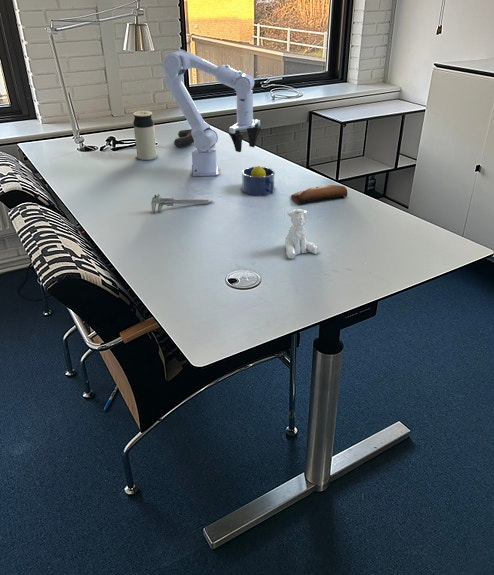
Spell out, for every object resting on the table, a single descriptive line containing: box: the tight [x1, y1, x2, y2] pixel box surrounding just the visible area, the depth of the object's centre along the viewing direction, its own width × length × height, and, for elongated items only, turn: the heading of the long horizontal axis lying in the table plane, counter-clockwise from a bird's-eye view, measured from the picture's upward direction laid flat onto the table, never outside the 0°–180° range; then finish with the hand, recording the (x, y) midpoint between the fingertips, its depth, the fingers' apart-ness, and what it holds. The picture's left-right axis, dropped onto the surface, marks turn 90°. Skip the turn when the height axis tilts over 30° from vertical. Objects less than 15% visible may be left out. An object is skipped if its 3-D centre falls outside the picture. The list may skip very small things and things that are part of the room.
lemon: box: [251, 165, 266, 177], centre depth 184 cm, size 6×6×8 cm
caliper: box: [150, 193, 213, 214], centre depth 171 cm, size 20×1×6 cm, turn 116°
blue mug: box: [241, 166, 275, 196], centre depth 184 cm, size 14×11×6 cm
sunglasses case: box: [291, 184, 348, 205], centre depth 179 cm, size 18×7×7 cm
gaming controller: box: [173, 128, 194, 148], centre depth 234 cm, size 17×6×10 cm
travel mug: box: [132, 110, 158, 161], centre depth 213 cm, size 8×8×18 cm
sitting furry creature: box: [284, 208, 319, 260], centre depth 144 cm, size 10×9×12 cm
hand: (245, 149), depth 193 cm, fingers open, 7 cm apart
